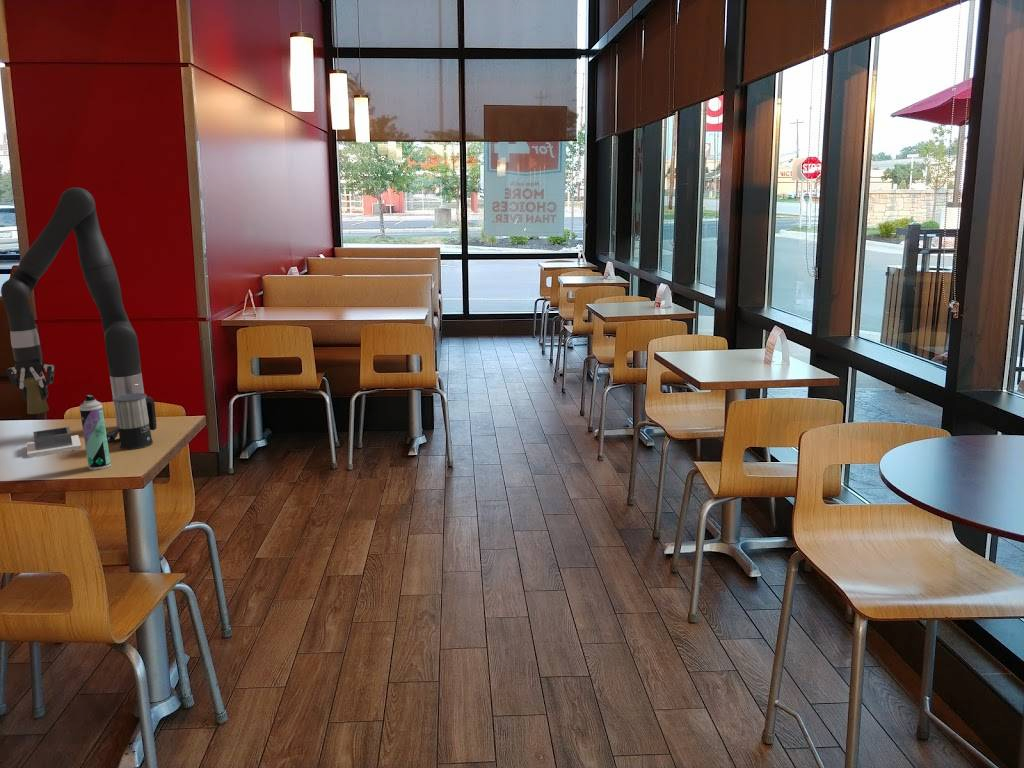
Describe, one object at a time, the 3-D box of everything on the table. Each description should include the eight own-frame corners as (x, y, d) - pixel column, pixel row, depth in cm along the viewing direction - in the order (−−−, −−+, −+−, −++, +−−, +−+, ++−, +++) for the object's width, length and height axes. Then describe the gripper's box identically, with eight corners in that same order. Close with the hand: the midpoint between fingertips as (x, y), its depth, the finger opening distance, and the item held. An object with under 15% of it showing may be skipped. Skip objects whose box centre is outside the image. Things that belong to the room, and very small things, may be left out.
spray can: (93, 464, 249) (82, 393, 245) (113, 463, 249) (103, 392, 245) (85, 470, 244) (74, 398, 239) (106, 469, 244) (96, 397, 240)
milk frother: (146, 449, 262) (139, 399, 259) (91, 452, 262) (83, 402, 259) (162, 435, 276) (156, 388, 273) (110, 438, 276) (103, 391, 272)
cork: (40, 414, 274) (33, 378, 272) (22, 414, 275) (16, 378, 273) (53, 408, 280) (47, 374, 277) (36, 409, 281) (30, 374, 279)
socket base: (78, 438, 277) (78, 435, 277) (81, 449, 265) (81, 445, 265) (27, 446, 271) (26, 442, 271) (27, 457, 259) (27, 453, 258)
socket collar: (70, 437, 274) (68, 426, 273) (72, 444, 266) (70, 433, 265) (35, 443, 270) (33, 431, 269) (35, 450, 261) (33, 439, 261)
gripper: (55, 340, 277) (65, 395, 281) (7, 344, 276) (18, 398, 280) (44, 345, 270) (54, 400, 273) (-5, 348, 269) (6, 404, 273)
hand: (36, 399), depth 277 cm, fingers closed on cork, 4 cm apart
